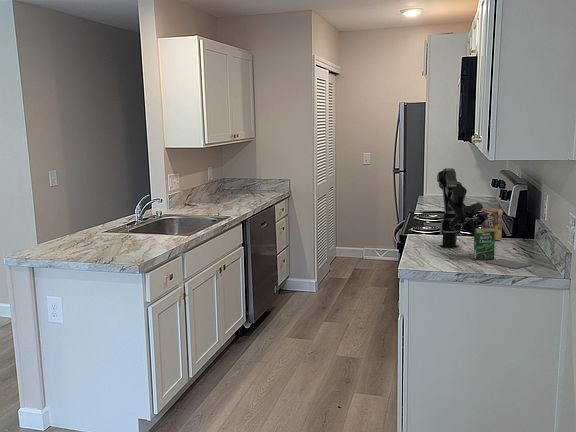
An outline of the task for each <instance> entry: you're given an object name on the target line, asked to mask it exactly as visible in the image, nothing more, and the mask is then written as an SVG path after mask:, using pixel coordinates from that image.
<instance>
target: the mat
mask: <svg viewBox="0 0 576 432" xmlns="http://www.w3.org/2000/svg"><path fill="white" fill-rule="evenodd" d="M485 264H490V265H494V266H499V267H503V268H507V269H512V270H518V269H522V268H527V267H532V266H533V265H532V264H530V263H526V262H525V263H524V262H520V261H517V260H510V259H505V258H497V259H491V260H488V261H485Z"/></svg>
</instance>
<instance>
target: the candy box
mask: <svg viewBox="0 0 576 432" xmlns="http://www.w3.org/2000/svg"><path fill="white" fill-rule="evenodd" d="M481 212H482V213H481V214H483V213H484V214H486V215H487V216H488V218H487V219H486V220H485V221H484V222H483V223H482V224H481V228H494V229H495V240H499V241H502V234H503V233H502V232H503V231H502V230H503V229H502V228H503V227H502V226H503V209H493V208H483V209H482V211H481Z"/></svg>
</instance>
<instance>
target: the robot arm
mask: <svg viewBox="0 0 576 432" xmlns="http://www.w3.org/2000/svg"><path fill="white" fill-rule="evenodd" d="M436 182H437V184H438V187H439V188H440V189H441V191H442V197H443V198H442V199H443V207H444V208H443V209H444V215H443V216H442V219H441V222H440V227H439V233H440V234H441V235H442V244H439V246H440V247H443V248H449V249H453V248H458V247H460V245H459V244H457V235H461V231H462V230H463V231H465V232H467V233H469V234H471V235H473V236H474V229H479V228H480V227H479V226H482V223H483V222H484V221H485V220H486V219H487V218H488V216H487V215H486V214H484V213H483V214H482V213H478V212H482V209H484V205H483V204H482V203H481V202H480V201H479V202H478V201H477V202H476V203H473V204H470V205H466V203H465V202H464V201H465V199H466V196H467V193H468V191H467V188H466V187H465V186H463V184H462V182H461V181H458V178H457V172H456V171H455V168H452V167H451V168H450V167H449V168H448V167H447V168H445V167H444V168H443V169H442V170H440V171H438V173H437V176H436ZM476 213H478V214H476Z"/></svg>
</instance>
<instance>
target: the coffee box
mask: <svg viewBox="0 0 576 432" xmlns="http://www.w3.org/2000/svg"><path fill="white" fill-rule="evenodd" d="M495 244H496V243H495V229H494V228H482V227H481V228H480V227H479V229H474V235H473V259H475V260H476V261H478V260H495V249H496V248H495V247H496V246H495Z"/></svg>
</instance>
